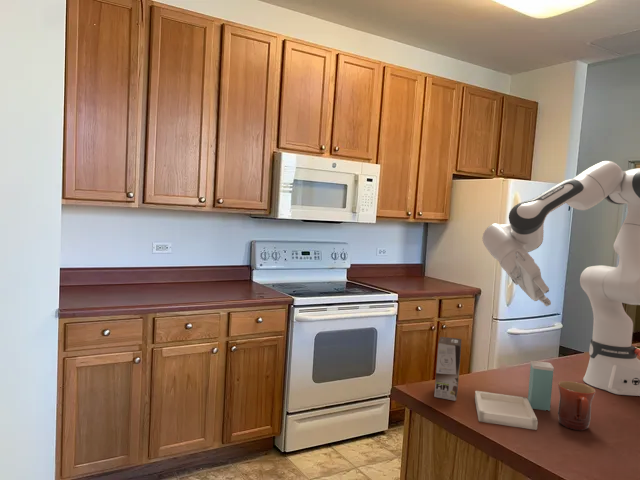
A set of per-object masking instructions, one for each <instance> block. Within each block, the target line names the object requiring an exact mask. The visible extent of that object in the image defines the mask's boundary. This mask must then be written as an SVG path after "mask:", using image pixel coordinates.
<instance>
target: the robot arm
mask: <svg viewBox="0 0 640 480" xmlns="http://www.w3.org/2000/svg"><path fill="white" fill-rule="evenodd" d="M604 199H605V200H606V201H608V202H609V203H611V204H614V205H625V204H626V205H627V214H626V216H625V219H624V220H623V223H622V225H621V227H620V229H619V231H618V233H617V236H616V237H615V241H614V242H613V250H614V252H615V253H616V254H617V255H618V258H619V259H618V265H617V266H609V265H604V264H603V265H592V266H591V265H590V266H588V267H586V268H584V269H583V271H582V272H581V273H580V276H579V277H580V278H579V284H580V287H581V289H582V290H583V291H584V293H585V294H586V295H587V297H588V299H589V302H590V305H591V306H590V307H591V309H592V314H593V315H592V316H593V326H592V337H591V338H592V339H590V343H589V349H588V350H589V352H588V355H589V361H588V364H587V368H586V372H585V375H584V376H583V378H582V380H583V382H584V383H586V385H588V386H590V387H593V388H596V389H600V390H603V391H607V392H609V393H612V394H615V395H622V396H637V397H638V396H639V397H640V359H639V358H638V357H637V356H639V357H640V348H637V347H635V346H634V345H632V342H633V331H634V322H633V319H632V318H631V317H630V316H629V315H628V314H627V313H626V311H625V308H624V306H623V304H627V305H632V306H633V305H634V306H640V167H637V168H631V169H628V170H623V169H622V167H621V166H619V165H618V164H617V163H616V162H615V161H611V160H603V161H600V162H598V163H595V164H594V165H591V166H590V167H588V168H587V169H585V170H583V171H581V172H580V173H579V174H577V175H576V176H575V177H573V178H570V179H566V180H563V181H561V182H559V183H557V184H556V185H554V186H553V187H551V188H549V189H547V190H546V191H544V192H543V193H541V194H539V195H537V196H535V197H533V198H531V199H528V200H525V201H522V202H519V203H517V204H516V205H514V206H513V207H511V209H510V211H509V213H508V221H509V224H504V223H503V224H501V223H498V222H497V223H495V222H494V223H492V224H490V225H489V226H488V227H486V228H485V231H483V233H482V243H483V245H484V247H485V248H486V250H487V251H488V252H489V253H490V255H491V256H492V258H494V259H495V260H496V261H498V263H499V266H500V267H501V268H502V269H503V270H504V272H505V273H506V274H507V275H508V277H510V279H511V281H512V283H514V284H515V286H519V288H520V289H521V290H522V291H523V292H524V293H525V294H526V295H527V296H528V297H529V299H531V300H532V301H534V302H537V301H540V302H541V303H542V304H543V305H544V306H545V307H549V306H551V304H552V301H551V300H550V299H549V298H548V297H547V296H546V295H545V294H547V293H549V292H550V287H548V286H547V284H546V283H545V281H544V280H543V278H542V271H541V269H540V267H539V266H538V264H537V263H536V262H535V259H534V258H533V257H532V256H531V255H530V252H532V251H535V250H537V249H539V248H540V247H541V246H542V244H543V242H544V232H545V231H544V227H545V226H544V223H545V220H546V218H547V217H548V215H549V214H550V213H552V212H553V211H554V210H556V209H558V208H560V207H561V206H563V205H565V204H566V205H568V206H570V208H573V209H575V210H578V211H587V210H589V209H592V208H593V207H595V206H596V205H598V204H600V203H601V202H602V201H603V200H604Z"/></svg>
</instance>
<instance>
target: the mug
mask: <svg viewBox="0 0 640 480" xmlns="http://www.w3.org/2000/svg"><path fill="white" fill-rule="evenodd" d="M557 386H558V391H559V401H558V402H559V403H558V411H557V414H558V417H557V418H558V422H559V423H560V425H561V426H563V427H565V428H567V429H570V430H572V431H585V430H587V429H589V427H590V423H591V416H592V414H591V413H592V402H593V399H594V397H595V395H596V393H597V391H596V389H595V387H593V386H591V385H589V384H585V383H580V382H577V381H569V380H564V381H563V380H562V381H559V382H558V383H557Z"/></svg>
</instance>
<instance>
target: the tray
mask: <svg viewBox="0 0 640 480" xmlns="http://www.w3.org/2000/svg"><path fill="white" fill-rule="evenodd" d="M474 392H475V394H474V403H475V410H476V414H477V420H478V422H480V423H487V424H494V425H501V426H508V427H514V428H521V429H525V430H526V429H528V430H532V431H533V430H535V431H537V430H538V422H539V420H538V418H537V415H536V414H535V412H534V410H533V409H532V407H531V405H530V403H529V401H528V397H525V396H524V397H523V396H517V395H509V394H502V393H494V392H488V391H481V390H475V391H474Z"/></svg>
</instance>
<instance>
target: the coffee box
mask: <svg viewBox="0 0 640 480" xmlns="http://www.w3.org/2000/svg"><path fill="white" fill-rule="evenodd" d="M437 346H438V347H437V356H436V357H437V358H436V366H435V367H436V370H435V381H434V385H435V386H434V393H433V395H434V398H437V399H444V400H450V401H453V402H455V401H457V397H458V392H459V391H458V389H459V380H460V368H461V366H460V365H461V352H462V338H456V337H447V336H440V337H439V340H438V344H437Z"/></svg>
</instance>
